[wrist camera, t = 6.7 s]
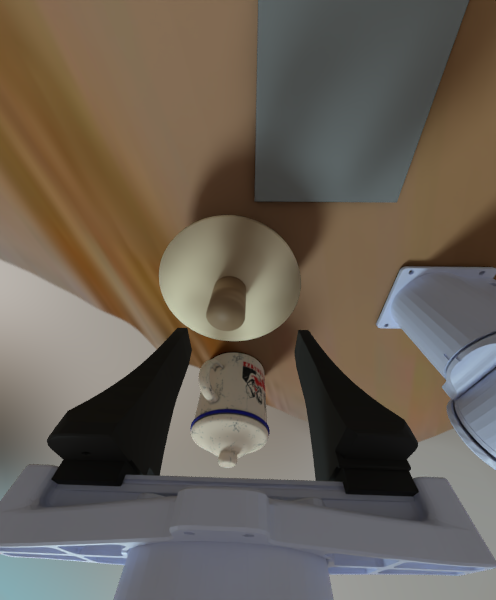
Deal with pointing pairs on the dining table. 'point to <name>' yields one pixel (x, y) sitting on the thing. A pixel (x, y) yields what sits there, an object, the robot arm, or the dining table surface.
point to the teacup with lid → (231, 408)
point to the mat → (346, 94)
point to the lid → (230, 278)
